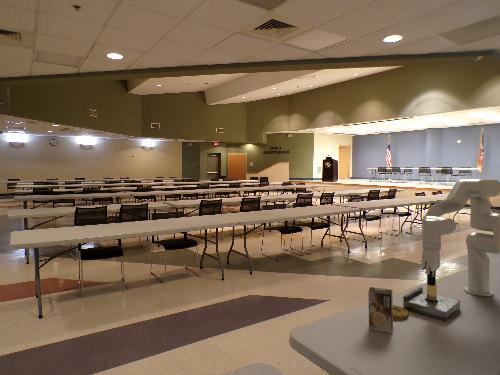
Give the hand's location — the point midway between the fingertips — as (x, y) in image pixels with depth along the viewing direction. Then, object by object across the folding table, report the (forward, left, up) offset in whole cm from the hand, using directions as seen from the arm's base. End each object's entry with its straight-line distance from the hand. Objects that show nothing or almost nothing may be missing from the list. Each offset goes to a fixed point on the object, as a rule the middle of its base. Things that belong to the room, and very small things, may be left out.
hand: (431, 284), depth 154 cm
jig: (0, 0, -12) cm, 12 cm away
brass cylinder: (0, 0, -10) cm, 10 cm away
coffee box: (+34, -7, -12) cm, 37 cm away
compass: (+17, -10, -13) cm, 23 cm away
